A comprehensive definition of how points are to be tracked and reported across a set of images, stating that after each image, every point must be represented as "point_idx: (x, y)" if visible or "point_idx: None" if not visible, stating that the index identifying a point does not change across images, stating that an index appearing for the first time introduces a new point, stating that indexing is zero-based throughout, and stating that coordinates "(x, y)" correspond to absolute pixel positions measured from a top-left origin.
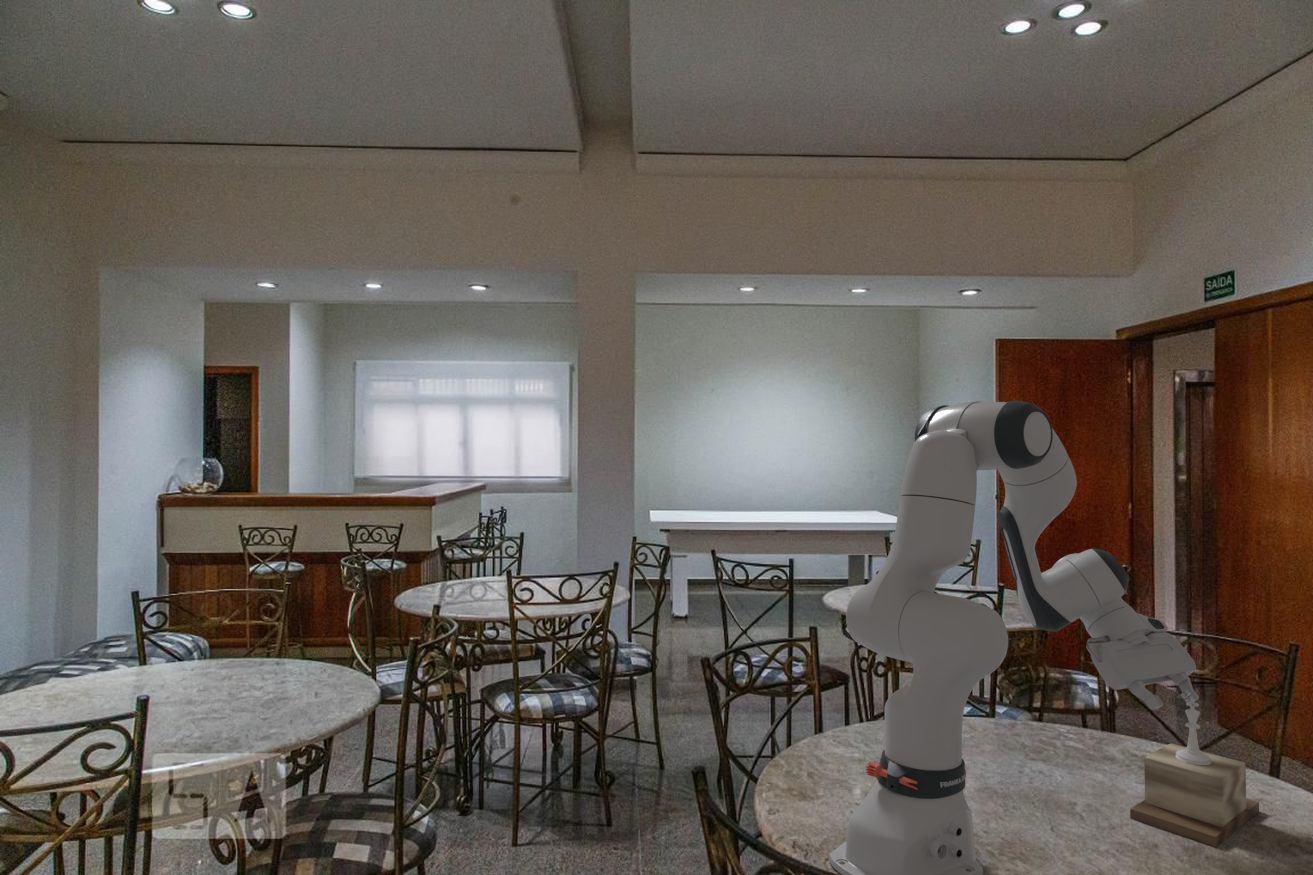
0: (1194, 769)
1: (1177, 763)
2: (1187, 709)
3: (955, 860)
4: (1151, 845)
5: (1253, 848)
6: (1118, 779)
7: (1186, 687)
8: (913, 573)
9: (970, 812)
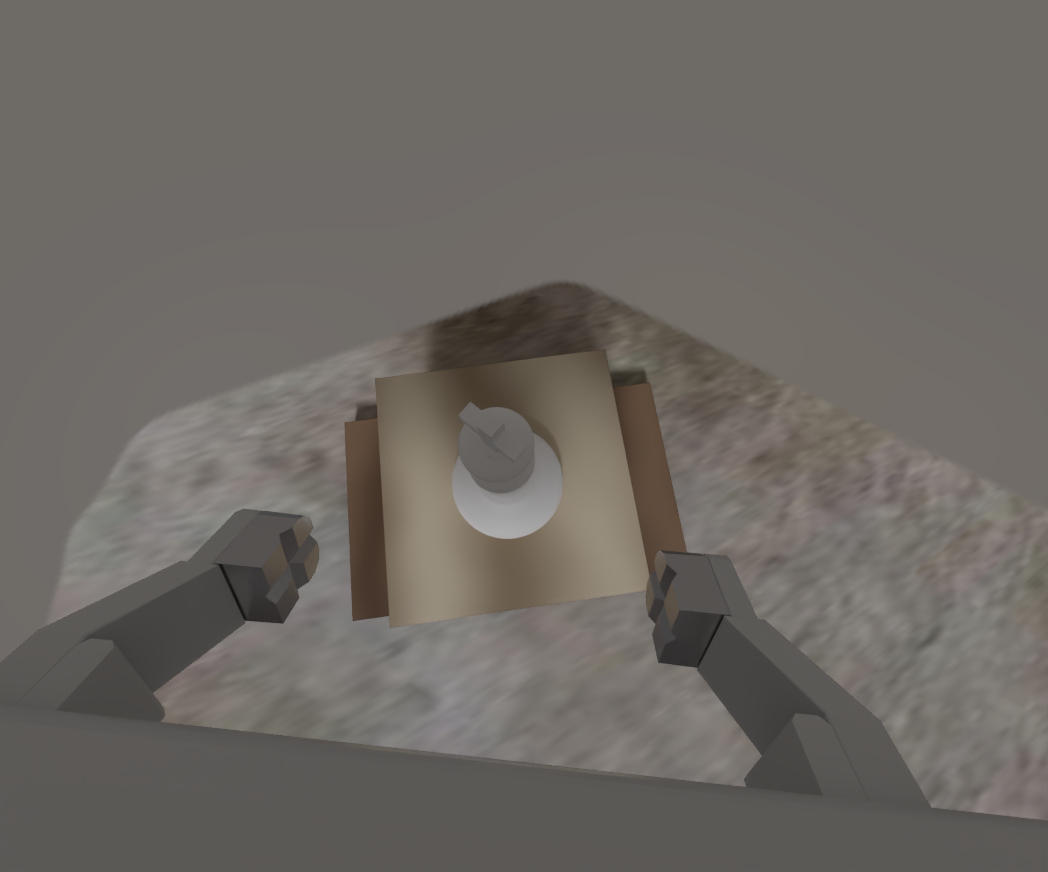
0: (601, 431)
1: (597, 491)
2: (506, 466)
3: None
4: (769, 462)
5: (576, 349)
6: (455, 750)
7: (195, 606)
8: None
9: None
